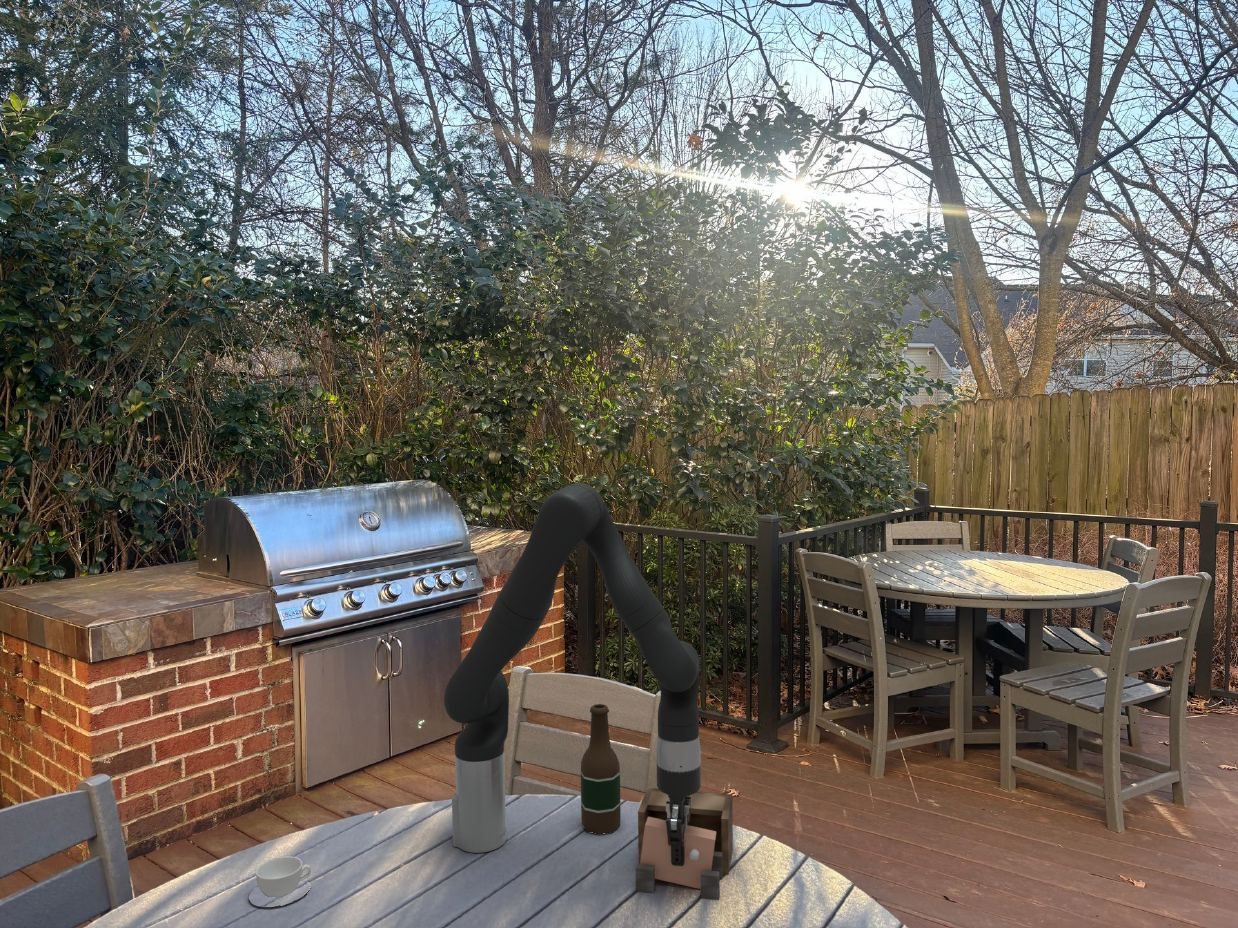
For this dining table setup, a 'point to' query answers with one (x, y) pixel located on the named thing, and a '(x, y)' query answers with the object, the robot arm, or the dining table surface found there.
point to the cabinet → (705, 814)
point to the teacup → (280, 876)
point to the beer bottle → (600, 778)
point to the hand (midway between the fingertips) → (679, 858)
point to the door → (695, 853)
